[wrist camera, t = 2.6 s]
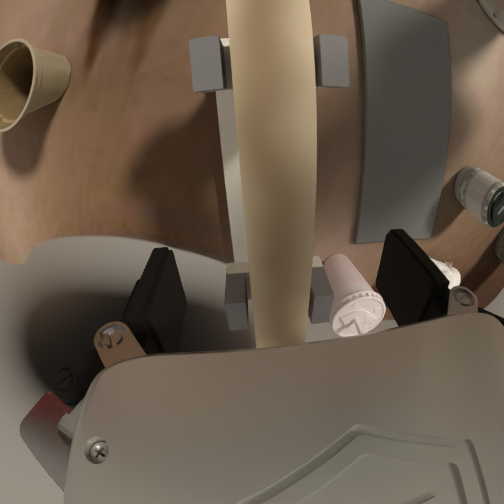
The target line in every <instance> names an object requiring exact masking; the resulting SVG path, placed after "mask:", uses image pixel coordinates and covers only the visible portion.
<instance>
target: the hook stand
mask: <svg viewBox="0 0 504 504" xmlns="http://www.w3.org/2000/svg"><path fill="white" fill-rule="evenodd" d="M313 48H314V63H315V81H316V87H320V88H333V87H345V88H350V81H349V59H348V44H347V37H345V36H337V35H328V34H318V35H317V36H315V37H314V38H313ZM189 50H190V62H191V73H192V83H193V92H214V91H216V100H217V111H218V121H219V131H220V140H221V150H222V159H223V168H224V178H225V186H226V195H227V204H228V212H229V221H230V229H231V237H232V245H233V253H234V261H235V263H227V273H226V288H225V309H226V314H227V320H228V324H229V330H230V331H231V330H248V329H249V327H248V299H252V295H251V284H250V273H249V263H248V252H247V241H246V230H245V219H244V208H243V197H242V185H241V174H240V163H239V151H238V140H237V128H236V116H235V105H234V93H233V81H232V69H231V57H230V44H229V38H224V39H220V37H219V35H216V36H208V37H201V38H195V39H189ZM333 299H334V293H333V290H332V288H331V285H330V282H329V280H328V277H327V275H326V272H325V270H324V267H323V265H322V262H321V260H320V257H319V256H316V257H313V263H312V276H311V288H310V299H309V309H308V313H309V317H310V321H311V324H315V323H324V322H329V321H330V315H331V310H332V304H333Z"/></svg>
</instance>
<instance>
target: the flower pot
mask: <svg viewBox="0 0 504 504" xmlns="http://www.w3.org/2000/svg"><path fill="white" fill-rule="evenodd" d="M70 73H71V67H70V63H69V61H68V60H67V58H66V57H64V56H63V55H60V54H56V53H52V52H49V51H45V50H41V49H38V48H35V47H34V46H33V45H31V44H30V42H28V41H27V40H25V39H20V38H18V39H13V40H10V41H8V42H6V43H5V44H4V45H2V46H1V47H0V132H6V131H8V130H10V129H11V128H13V127H14V126H15V125H16V124H17V123H18V122H19V121H20V120H21V119H22V118H24V117H25V116H26V115H27V114H29V113H31V112H33V111H35V110H37V109H39V108H41V107H43V106H46V105H48V104H50V103H53V102H55V101H56V100H58V99H59V98H60V97H61V96H62V95H63V93H64V92H65V90H66V89H67V87H68V84H69V77H70Z"/></svg>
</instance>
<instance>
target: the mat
mask: <svg viewBox="0 0 504 504" xmlns="http://www.w3.org/2000/svg"><path fill="white" fill-rule="evenodd" d="M357 2H358V9H359V17H360V27H361V37H362V50H363V68H364V139H363V159H362V173H361V185H360V196H359V205H358V214H357V222H356V230H355V237H354V241H355V242H356V243H369V242H383V241H385V237H386V234H387V233H389V231H390V230H391V229H403V230H404V231H405V232H406V233H407V234H408V235H409V236H410V237H411V238H412V239H424V238H430V237H431V233H432V229H433V225H434V221H435V217H436V213H437V209H438V204H439V199H440V194H441V189H442V184H443V178H444V172H445V165H446V158H447V150H448V141H449V130H450V115H451V63H450V49H449V38H448V30H447V23H446V22H444V21H442V20H440V19H438V18H435V17H433V16H430V15H428V14H425V13H423V12H420V11H417V10H415V9H412V8H409V7H406V6H403V5H400V4H397V3H393V2H390V1H387V0H357Z"/></svg>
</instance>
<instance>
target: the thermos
mask: <svg viewBox="0 0 504 504" xmlns="http://www.w3.org/2000/svg"><path fill="white" fill-rule="evenodd" d="M495 254H496V256H497V257H498V258H499V259H501V261H502V262H503V264H504V227H503V229H502V230H501V232H500V234H499V236H498V239H497V241H496V246H495Z"/></svg>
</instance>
